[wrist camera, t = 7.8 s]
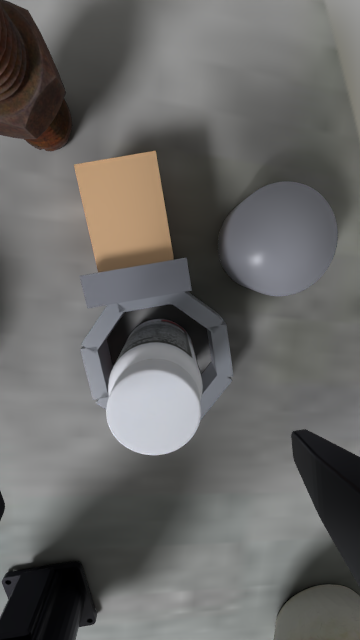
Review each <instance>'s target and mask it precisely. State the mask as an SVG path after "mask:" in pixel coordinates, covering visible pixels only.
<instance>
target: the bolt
mask: <svg viewBox="0 0 360 640" xmlns="http://www.w3.org/2000/svg"><path fill="white" fill-rule="evenodd" d="M65 93H66V91H65V88H64V86H63V83H62V80H61V78H60V75H59V73H58V70H57V68H56V66H55V63H54V61H53V59H52V57H51V54H50V52H49V50H48V48H47V45H46V43H45V41H44V39H43V37H42V35H41V33H40V31H39V29H38V27H37V25H36V24H35V22H34V20H33V18H32V17H31V15H30V13H29V11H28V10H26V9H24V8H22V7H19V6H17V5H15V4H13V3H10V2H8V1H5V0H0V135H3V136H8V137H13V138H21V139H24V140H26V141H27V142H28V143H29V144H31V145H32V146H34V147H35V148H37V149H40V150H41V149H45V150H46V151H54V150H58V149H60V148H61V147H63V146H64V145H65V144H66V142H67V140H68V139H69V136H70V132H71V127H72V119H71V114H70V111H69V108H68V106H67V104H66V102H65V100H64V96H65Z"/></svg>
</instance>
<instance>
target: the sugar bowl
mask: <svg viewBox="0 0 360 640" xmlns="http://www.w3.org/2000/svg"><path fill="white" fill-rule="evenodd" d="M274 640H360V596H359V595H358V594H357V593H356V592H354V591H353V590H352V589H350V588H348V587H345V586H341V585H331V584H327V585H318V586H314V587H311V588H308V589H306V590H303V591H302V592H300V593H298V594H296V595H295V596H293V597H292V598H291V599H290V600H288V601H287V602H286V603H285V605H284V606H283V607H282V609H281V610H280V612H279V614H278V617H277V619H276V626H275V634H274Z"/></svg>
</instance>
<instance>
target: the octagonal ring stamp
mask: <svg viewBox="0 0 360 640" xmlns="http://www.w3.org/2000/svg"><path fill="white" fill-rule="evenodd" d="M74 168H75V172H76V176H77V181H78V185H79V190H80V194H81V198H82V203H83V207H84V212H85V216H86V221H87V225H88V229H89V234H90V238H91V243H92V247H93V251H94V256H95V260H96V265H97V269H98V273H93V274H87V275H82V276H80V280H81V284H82V288H83V292H84V296H85V300H86V304H87V308H92V307H98V306H104V305H107V306H106V308H105V309H104V311H103V312H102V314H101V315H100V317H99V318H98V320H97V321H96V323H95V324H94V326H93V327H92V329H91V330H90V332H89V333H88V335H87V336H86V338H85V339H84V341H83V342H82V344H81V345H82V346H83V347H82V348H81V349H80V351H81V354H82V358H83V362H84V366H85V370H86V374H87V378H88V382H89V386H90V390H91V394H92V397H93V400H95V399H98V400H97V402H96V404H98V405H99V406H101V407H102V408H104V409H106V407H107V401H108V398H109V393H108V384H109V378H110V374H111V371H112V369H113V364H112V360H111V356H110V351H109V347H108V343H107V338H108V336H109V335H110V333H111V332H112V330H113V329H114V327H115V326H116V325H117V323H118V322H119V320H120V319H121V317H122V316H123V314H124V313H125V312H127V311H133V310H139V309H145V308H151V307H156V306H162V305H168V304H173V305H174V306H175V307H177V308H178V309H180V310H181V311H183V312H184V313H186V314H187V315H188V316H190V317H191V318H193V319H194V320H196V321H197V322H198V323H200V324H201V325H203V326H204V327H206V328H207V334H208V340H209V347H210V353H211V360H212V361H211V363H210V364H209V365H208V367H207V368H206V369H205V370H204V372H203V373H202V374H201V377H202V385H203V389H202V396H201V400H200V404H201V418H200V420H201V419H202V418H203V417H204V415H205V414H206V413H207V412H208V410H209V409H210V408H211V407H212V405H213V404H214V403H215V402H216V400H217V399H218V398H219V397H220V395H221V394H222V393H223V391H224V390H225V389H226V388H227V386H228V385H229V384H230V383H231V381H232V379H231V377H232V376H233V369H232V362H231V354H230V347H229V340H228V332H227V325H226V323H225V322H224V320H223V319H222V317H221V316H220V315H219V314H218V313H217V312H216V311H214V310H213V309H212V308H210V307H209V306H207V305H206V304H204V303H203V302H202V301H200V300H199V299H197V298H196V297H195V296H193V295H192V294H190V293H189V292H188V291H192V289H191V283H190V276H189V270H188V264H187V258H181V259H175V260H174V257H173V251H172V245H171V239H170V233H169V227H168V221H167V215H166V209H165V203H164V197H163V191H162V185H161V179H160V173H159V167H158V161H157V155H156V151H151V152H145V153H139V154H133V155H127V156H122V157H116V158H110V159H104V160H98V161H93V162H87V163H81V164H75V165H74Z"/></svg>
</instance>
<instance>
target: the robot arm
mask: <svg viewBox="0 0 360 640" xmlns="http://www.w3.org/2000/svg"><path fill="white" fill-rule="evenodd" d="M291 438H292V449H293V457H294V461H295V464H296V466H297V468H298V470H299V473H300V475H301V477H302V479H303V482H304V484H305V486H306V488H307V490H308V493H309V495H310V497H311V499H312V502H313V504H314V506H315V508H316V510H317V512H318V515H319V517H320V518H321V520H322V522H323V524H324V526H325V528H326V529H327V531H328V533H329V535H330V536H331V538H332V540H333V542H334V543H335V545H336V547H337V549H338V550H339V552H340V554H341V556H342V557H343V559H344V561H345V563H346V564H347V566H348V568H349V570H350V571H351V573H352V575H353V577H354V578H355V580H356V582H357V583H358V585H359V587H360V457H359V456H357V455H355V454H353V453H351V452H349V451H347V450H345V449H343V448H341V447H339V446H337V445H335V444H333V443H331V442H330V441H328V440H326V439H324V438H322V437H320V436H318V435H316V434H314V433H312V432H310V431H308V430H306V429H303V430H297V431H293V432H292V434H291ZM4 509H5V503H4V500H3V497H2V494H1V491H0V520H1V518H2V515H3V513H4ZM2 584H3V587H4V589H5V592H6V594H7V597H8V599H9V600H8V602H7V604H6V606H5V608H4V610H3V612H2V614H1V617H0V640H76V636H77V632H78V628H79V627H82V626H88V625H93V624H94V623H95V622H96V617H97V613H96V610H95V607H94V604H93V600H92V597H91V594H90V591H89V587H88V584H87V581H86V578H85V574H84V571H83V568H82V565H81V563H79V562H77V561H74V562H68V563H62V564H56V565H50V566H44V567H38V568H32V569H26V570H20V571H14V572H8V573H6V574H5V576H4V578H3V580H2Z"/></svg>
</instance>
